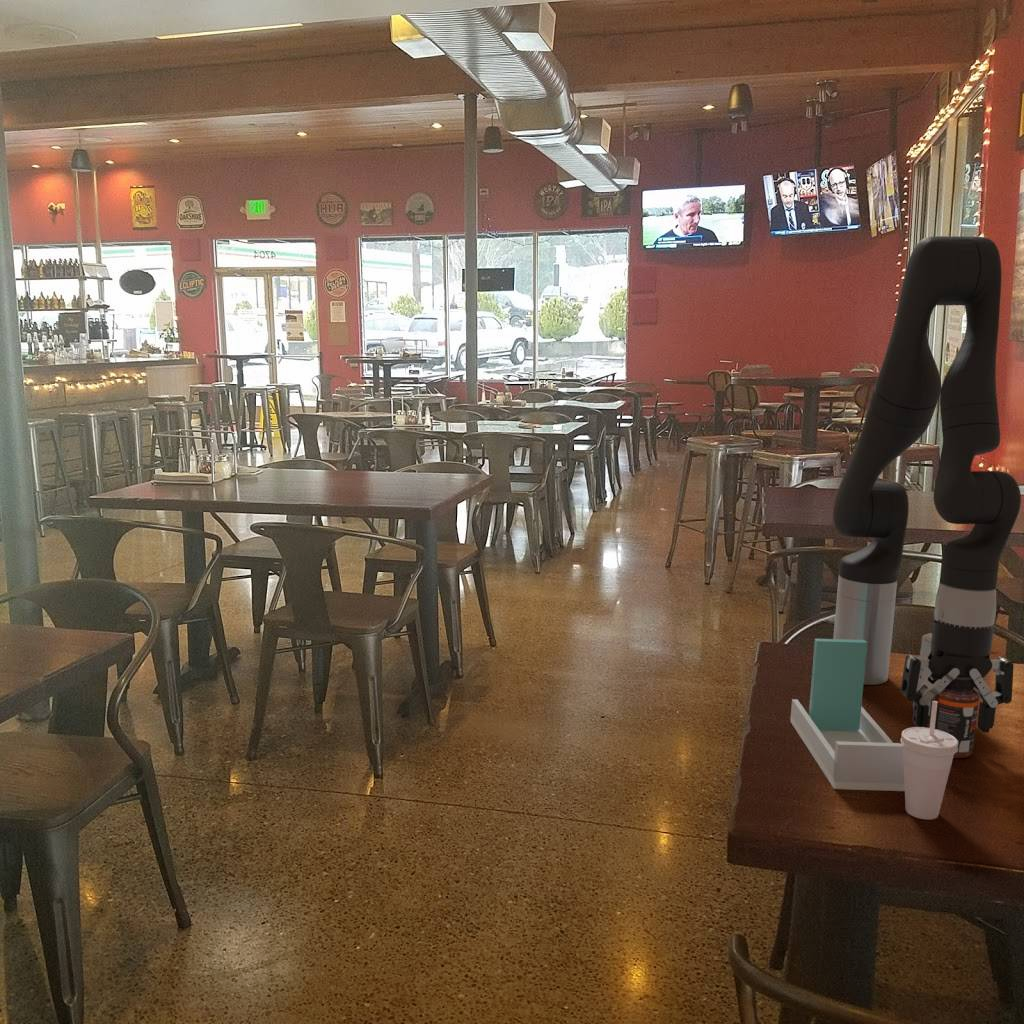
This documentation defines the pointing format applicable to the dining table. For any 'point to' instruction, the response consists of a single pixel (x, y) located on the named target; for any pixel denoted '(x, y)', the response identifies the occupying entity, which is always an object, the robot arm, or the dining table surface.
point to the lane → (853, 753)
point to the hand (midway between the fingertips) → (951, 729)
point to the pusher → (837, 683)
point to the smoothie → (926, 767)
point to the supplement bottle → (958, 713)
